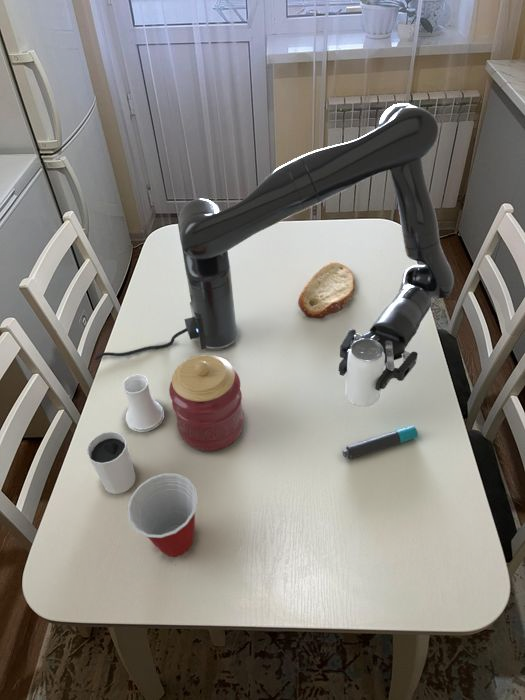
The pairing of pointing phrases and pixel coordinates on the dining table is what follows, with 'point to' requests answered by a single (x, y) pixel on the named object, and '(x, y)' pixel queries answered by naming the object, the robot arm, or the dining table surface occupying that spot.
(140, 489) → the plastic cup
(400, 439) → the marker
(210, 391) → the kitchen canister
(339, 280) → the bread slice
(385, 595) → the dining table surface
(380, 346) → the can
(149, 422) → the vase
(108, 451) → the white coffee cup
